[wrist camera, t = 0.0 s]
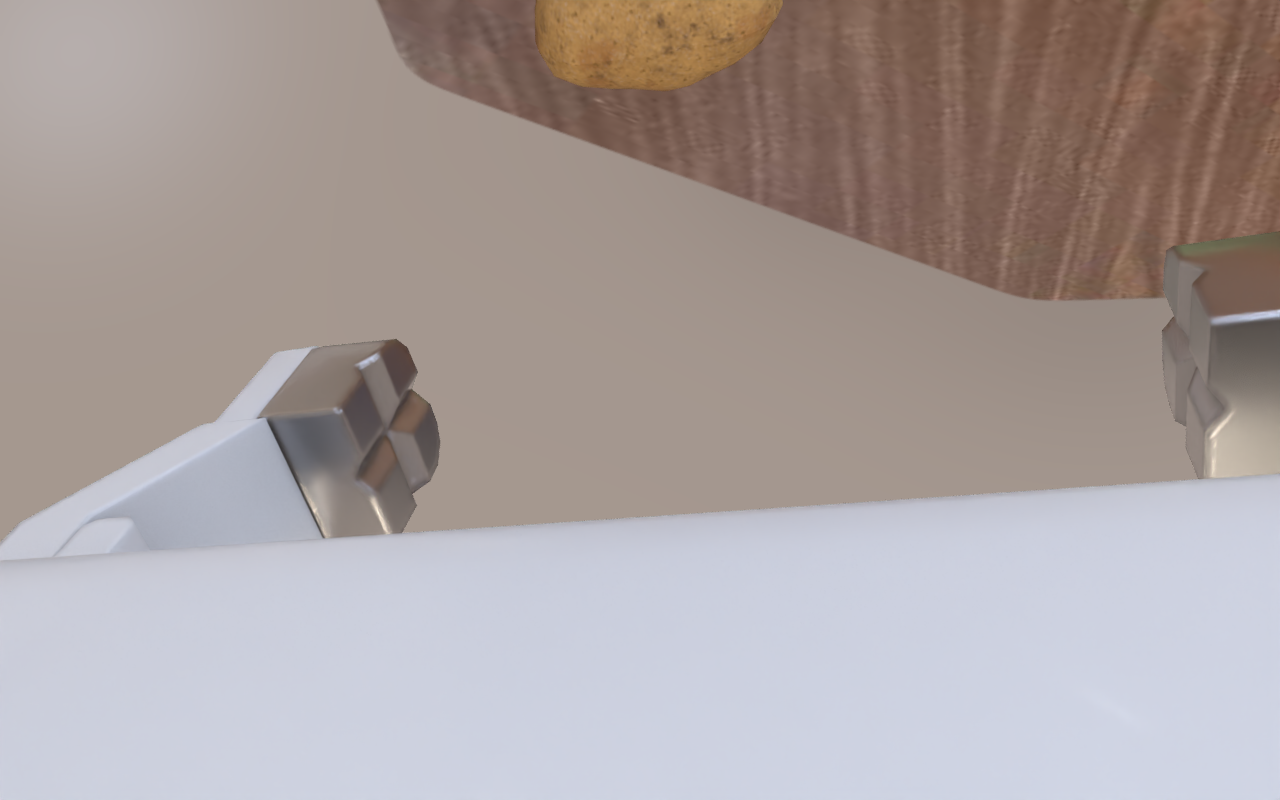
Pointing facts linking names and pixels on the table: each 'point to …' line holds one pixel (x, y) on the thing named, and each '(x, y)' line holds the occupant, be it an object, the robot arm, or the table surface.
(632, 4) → the potato
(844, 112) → the table surface
